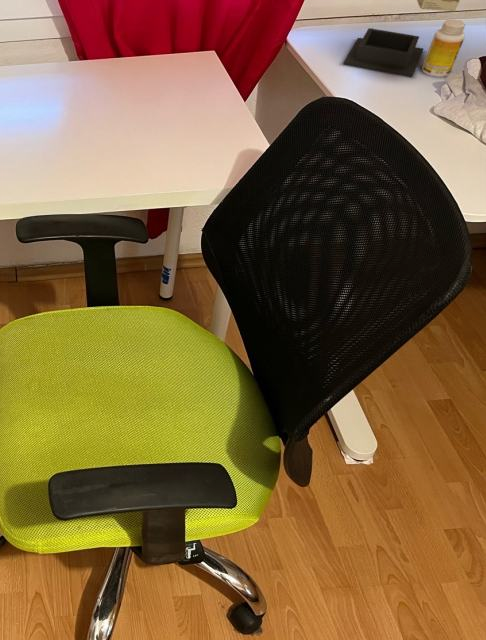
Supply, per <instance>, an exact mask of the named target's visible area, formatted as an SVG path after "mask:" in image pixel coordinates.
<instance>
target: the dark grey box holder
mask: <svg viewBox="0 0 486 640" xmlns="http://www.w3.org/2000/svg"><path fill="white" fill-rule="evenodd" d="M419 38H420V36H419V35H413V34H408V33H401V32H396V31H395V32H394V31H389V30H383V29H378V28H377V29H375V28H370V27H368V28H367V30H366V32H365V34H364V35H363V37H357V38H356V40H355V42H354V44H353V46H352V47H351V49H350V51H349V52H348V54H347V56H346V58H345V59H344V61H343V66H348V67H354V68H358V69H366V70H369V71H375V72H379V73H386V74H392V75H397V76H402V77H407V78H413V76H414V73H415V71H416V69H417V66H418V64H419V62H420V59H421V57H422V54H423V52H424V50H425V48H422V47H417V45H418V42H419Z"/></svg>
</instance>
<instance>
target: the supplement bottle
mask: <svg viewBox="0 0 486 640" xmlns="http://www.w3.org/2000/svg"><path fill="white" fill-rule="evenodd" d="M465 27H466V23H465V22H464V21H462V20H459V19H455V18H450V19H446V20H444V22H443V24H442V26H441V27H440V28H439V29H438V30H436V31H435V33H434V35H433V37H432V40H431V43H430V46H429V48H428V50H427V52H426V56H425V58H424V60H423V64H422V66H421V71H422V72H423V74H425V75H428V76H431V77H436V78H442V77H446V76H448V75H449V74H450V73H451V72H452V70H453V66H454V64H455V62H456V59H457V57H458V55H459V52H460V50H461V47H462V45H463V43H464V40H465V37H466V35H465V33H464V30H465Z"/></svg>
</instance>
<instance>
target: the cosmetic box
mask: <svg viewBox="0 0 486 640" xmlns="http://www.w3.org/2000/svg"><path fill="white" fill-rule="evenodd" d="M416 1H417V5H418V7H419V8H420V9H421V10H431V11H432V10H433V11H447V12H455V11H456V10H457V7H458V5H459V4H460V3H459V2H460V0H416Z"/></svg>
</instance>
